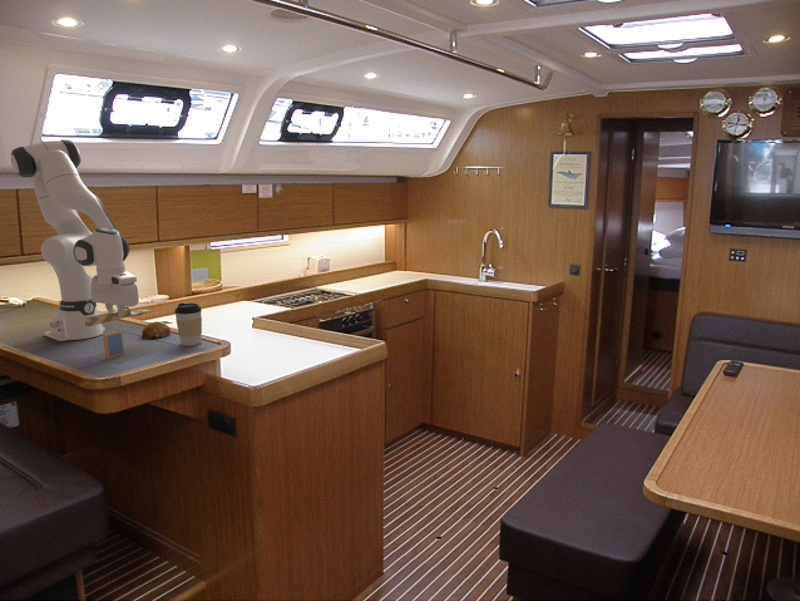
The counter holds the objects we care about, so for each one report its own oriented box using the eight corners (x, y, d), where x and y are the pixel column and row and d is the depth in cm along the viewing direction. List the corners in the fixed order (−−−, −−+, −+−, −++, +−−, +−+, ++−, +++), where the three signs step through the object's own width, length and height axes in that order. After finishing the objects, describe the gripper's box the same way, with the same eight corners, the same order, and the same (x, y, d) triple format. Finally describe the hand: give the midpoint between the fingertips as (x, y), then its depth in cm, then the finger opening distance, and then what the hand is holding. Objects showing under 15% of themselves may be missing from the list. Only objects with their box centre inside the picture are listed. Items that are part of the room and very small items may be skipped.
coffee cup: (210, 343, 231) (206, 302, 228) (192, 350, 223) (188, 307, 220) (190, 341, 235) (186, 300, 232) (172, 347, 227) (168, 305, 223)
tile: (105, 358, 211) (102, 335, 210) (121, 353, 216) (118, 330, 215) (108, 359, 210) (106, 335, 209) (124, 354, 216) (121, 331, 214)
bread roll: (174, 345, 243) (176, 324, 245) (161, 340, 233) (164, 319, 235) (149, 345, 244) (151, 324, 246) (135, 340, 234) (138, 318, 236)
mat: (87, 360, 214) (87, 357, 213) (144, 343, 233) (144, 340, 233) (119, 366, 206) (119, 363, 206) (176, 348, 226) (176, 345, 225)
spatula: (92, 327, 209) (92, 319, 208) (81, 325, 212) (81, 318, 211) (150, 312, 228) (150, 305, 228) (140, 310, 231) (139, 304, 231)
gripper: (83, 276, 219) (88, 316, 222) (123, 280, 209) (128, 321, 212) (99, 273, 224) (104, 312, 227) (139, 277, 214) (144, 317, 217)
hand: (116, 317), depth 219 cm, fingers closed on spatula, 2 cm apart
